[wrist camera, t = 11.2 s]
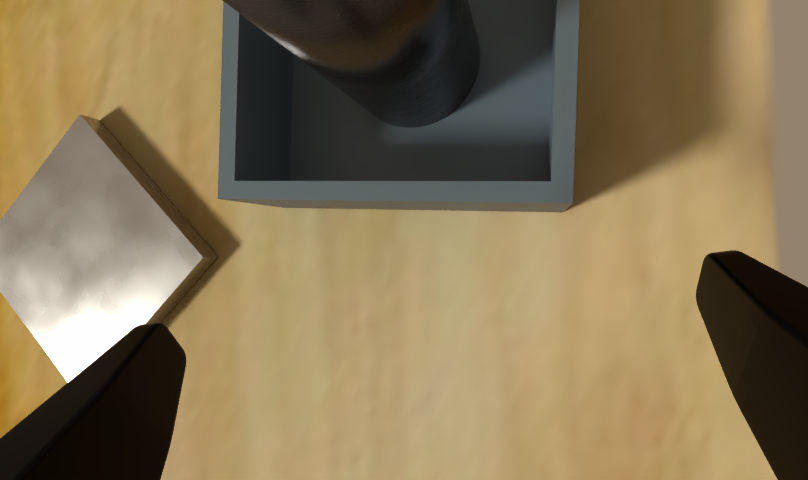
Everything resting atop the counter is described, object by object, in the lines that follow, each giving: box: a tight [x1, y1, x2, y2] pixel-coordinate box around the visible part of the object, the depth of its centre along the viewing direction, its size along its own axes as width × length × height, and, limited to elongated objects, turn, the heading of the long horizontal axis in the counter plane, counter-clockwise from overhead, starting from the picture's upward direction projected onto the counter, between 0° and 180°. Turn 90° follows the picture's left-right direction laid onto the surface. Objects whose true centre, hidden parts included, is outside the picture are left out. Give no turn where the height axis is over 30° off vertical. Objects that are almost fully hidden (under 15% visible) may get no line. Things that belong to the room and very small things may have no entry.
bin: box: [218, 0, 580, 212], centre depth 17 cm, size 11×11×4 cm
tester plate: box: [0, 115, 218, 382], centre depth 23 cm, size 9×9×1 cm
